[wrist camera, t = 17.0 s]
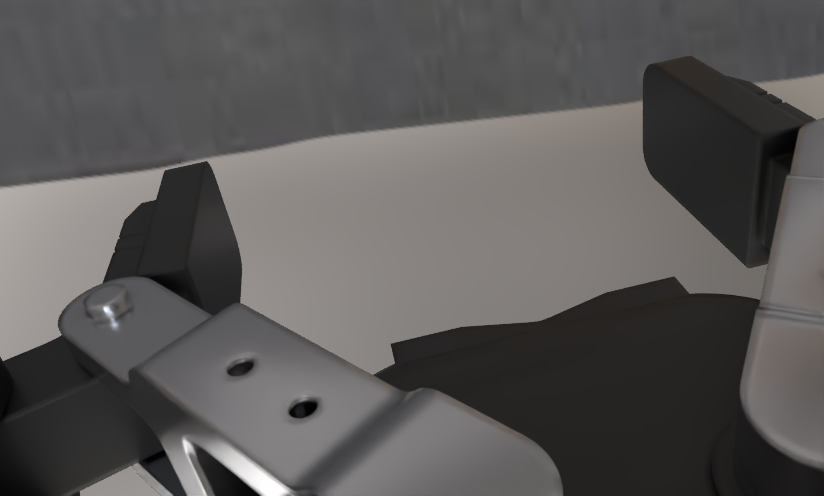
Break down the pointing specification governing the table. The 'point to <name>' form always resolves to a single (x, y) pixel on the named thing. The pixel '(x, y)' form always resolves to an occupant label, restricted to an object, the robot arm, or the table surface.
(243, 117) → the table surface
